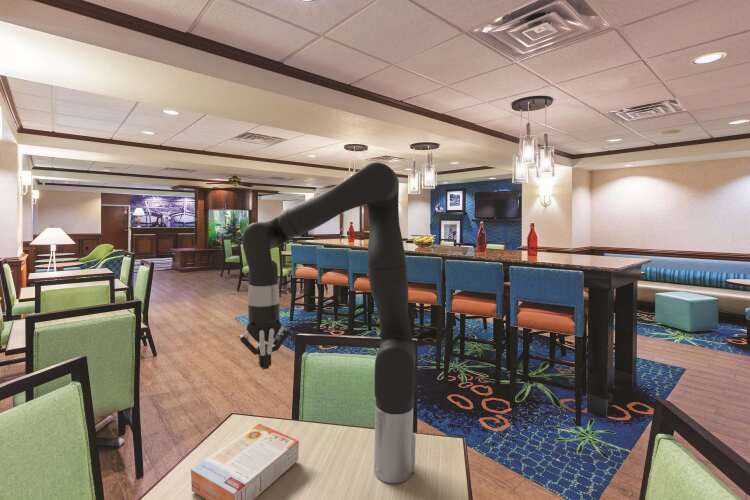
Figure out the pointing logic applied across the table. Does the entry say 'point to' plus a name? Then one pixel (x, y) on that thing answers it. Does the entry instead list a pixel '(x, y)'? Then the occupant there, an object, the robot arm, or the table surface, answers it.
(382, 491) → the table surface
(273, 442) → the cracker box
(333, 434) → the table surface
